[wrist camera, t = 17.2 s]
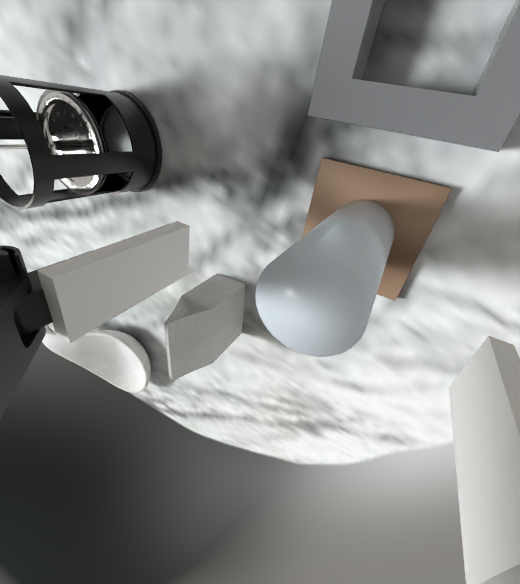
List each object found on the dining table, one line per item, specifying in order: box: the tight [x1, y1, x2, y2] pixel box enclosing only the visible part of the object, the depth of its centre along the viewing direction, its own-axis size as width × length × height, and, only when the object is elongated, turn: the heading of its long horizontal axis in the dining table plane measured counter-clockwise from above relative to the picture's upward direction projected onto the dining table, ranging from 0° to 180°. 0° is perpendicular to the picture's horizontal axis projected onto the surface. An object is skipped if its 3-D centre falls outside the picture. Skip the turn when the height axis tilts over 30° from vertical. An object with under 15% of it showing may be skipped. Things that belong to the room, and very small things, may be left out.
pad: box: [302, 158, 451, 301], centre depth 23 cm, size 9×9×1 cm
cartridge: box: [255, 199, 395, 357], centre depth 18 cm, size 5×5×13 cm
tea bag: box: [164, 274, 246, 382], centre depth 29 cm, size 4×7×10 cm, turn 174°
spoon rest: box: [42, 324, 151, 393], centre depth 47 cm, size 24×12×7 cm, turn 76°
